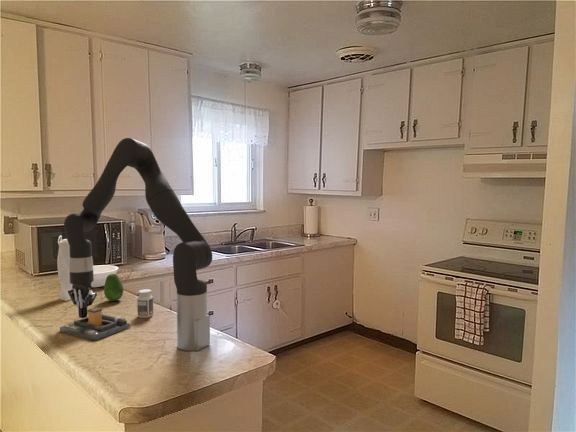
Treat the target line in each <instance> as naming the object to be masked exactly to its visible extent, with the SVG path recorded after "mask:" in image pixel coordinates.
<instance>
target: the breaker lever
mask: <svg viewBox="0 0 576 432" xmlns="http://www.w3.org/2000/svg"><path fill="white" fill-rule="evenodd" d="M102 312H103V309H102V308H100V307H94V308H90V309H87V317H88V322H89V324H93V325H97V326H99V325H102Z"/></svg>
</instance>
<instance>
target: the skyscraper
mask: <svg viewBox="0 0 576 432" xmlns="http://www.w3.org/2000/svg"><path fill="white" fill-rule="evenodd" d="M62 237H63V236H62V235H61V234H60V235H59V236H58V239H57V244H58V253H57V260H56V261H57V262H56V263H57V275H58V279H59V283H60V284H59V285H60V291H59V296H58V300H62V301H66V302H68V301H70V300H71V298H70V296H69V294H68V290H71V289H72V285H73V284H71V283H70V273H69V261H70V250H69V249H70V246H69V243H68V240H67V238H64V239H63V238H62ZM71 301H72V300H71Z"/></svg>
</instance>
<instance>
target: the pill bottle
mask: <svg viewBox="0 0 576 432" xmlns="http://www.w3.org/2000/svg"><path fill="white" fill-rule="evenodd" d="M136 299H137V300H136V301H137V302H136V303H137V317H138V318H140V319H141V318H142V319H143V318H144V319H147V318H150V317H152V316H153V315H154V297H153V295H152V290H151V289H149V288H148V289H147V288H146V289H140V290H138V296H137V298H136Z"/></svg>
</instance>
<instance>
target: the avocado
mask: <svg viewBox="0 0 576 432" xmlns="http://www.w3.org/2000/svg"><path fill="white" fill-rule="evenodd" d="M103 293H104V296H105V298H106V299H107V301H110V302H117V301H119V300H121V298H122V296H123V295H124V285H123V283H122V281H121V280H120V278H119V276H118V274H117V273H116V274H110V275H108V276H107V278H106V281H105V286H103Z"/></svg>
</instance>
